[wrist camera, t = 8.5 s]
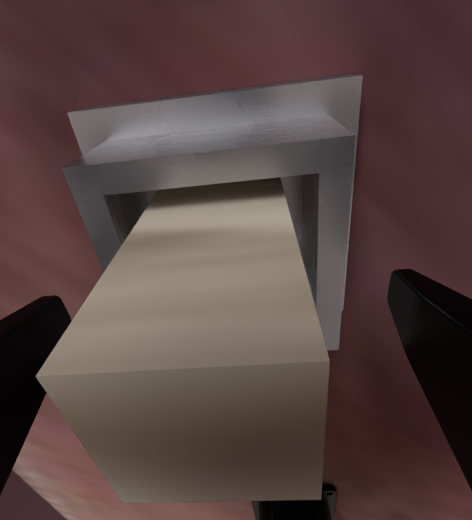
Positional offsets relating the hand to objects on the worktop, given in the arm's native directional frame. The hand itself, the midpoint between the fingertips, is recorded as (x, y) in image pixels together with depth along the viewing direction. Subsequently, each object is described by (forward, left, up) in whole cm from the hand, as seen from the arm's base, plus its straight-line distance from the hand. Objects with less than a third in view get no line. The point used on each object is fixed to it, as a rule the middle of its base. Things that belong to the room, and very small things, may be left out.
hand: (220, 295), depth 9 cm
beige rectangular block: (0, 0, -4) cm, 4 cm away
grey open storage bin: (0, 0, -5) cm, 5 cm away
